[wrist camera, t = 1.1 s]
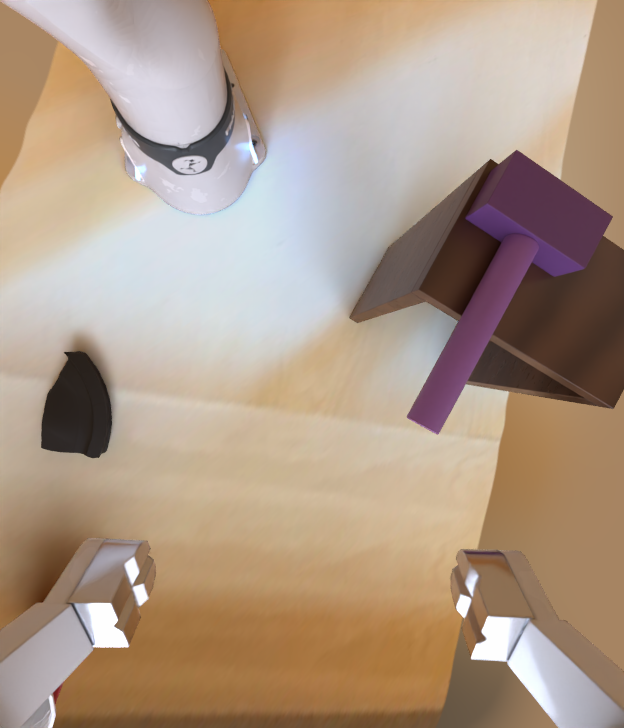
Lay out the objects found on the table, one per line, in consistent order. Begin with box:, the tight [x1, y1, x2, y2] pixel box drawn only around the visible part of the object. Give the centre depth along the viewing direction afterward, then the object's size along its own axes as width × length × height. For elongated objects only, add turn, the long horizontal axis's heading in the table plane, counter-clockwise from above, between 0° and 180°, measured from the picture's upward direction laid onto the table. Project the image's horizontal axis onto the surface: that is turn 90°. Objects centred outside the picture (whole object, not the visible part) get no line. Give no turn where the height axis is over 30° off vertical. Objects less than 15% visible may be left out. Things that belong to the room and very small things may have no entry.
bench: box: [350, 159, 624, 409], centre depth 42 cm, size 20×12×25 cm, turn 61°
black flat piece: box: [41, 351, 112, 458], centre depth 49 cm, size 8×14×2 cm, turn 171°
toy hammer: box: [407, 150, 613, 434], centre depth 28 cm, size 20×9×3 cm, turn 151°
